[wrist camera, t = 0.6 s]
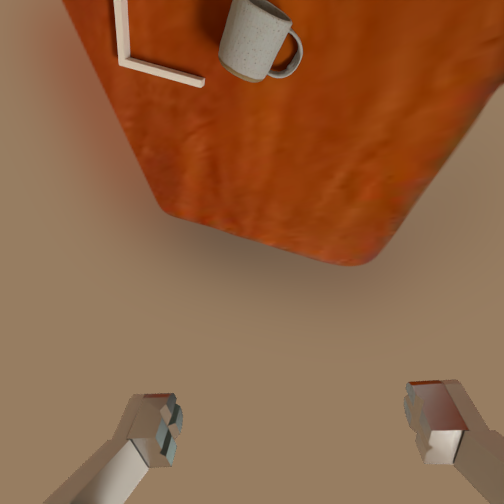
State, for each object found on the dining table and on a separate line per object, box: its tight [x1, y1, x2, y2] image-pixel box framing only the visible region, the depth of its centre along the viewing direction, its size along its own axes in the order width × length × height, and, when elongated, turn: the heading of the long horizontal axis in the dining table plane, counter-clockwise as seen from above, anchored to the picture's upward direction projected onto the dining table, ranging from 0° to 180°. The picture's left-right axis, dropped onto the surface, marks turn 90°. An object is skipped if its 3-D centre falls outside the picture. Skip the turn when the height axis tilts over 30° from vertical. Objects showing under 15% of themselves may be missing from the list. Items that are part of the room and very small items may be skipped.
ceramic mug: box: [219, 0, 303, 82], centre depth 40 cm, size 11×8×8 cm
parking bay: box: [114, 0, 205, 88], centre depth 42 cm, size 16×13×2 cm
